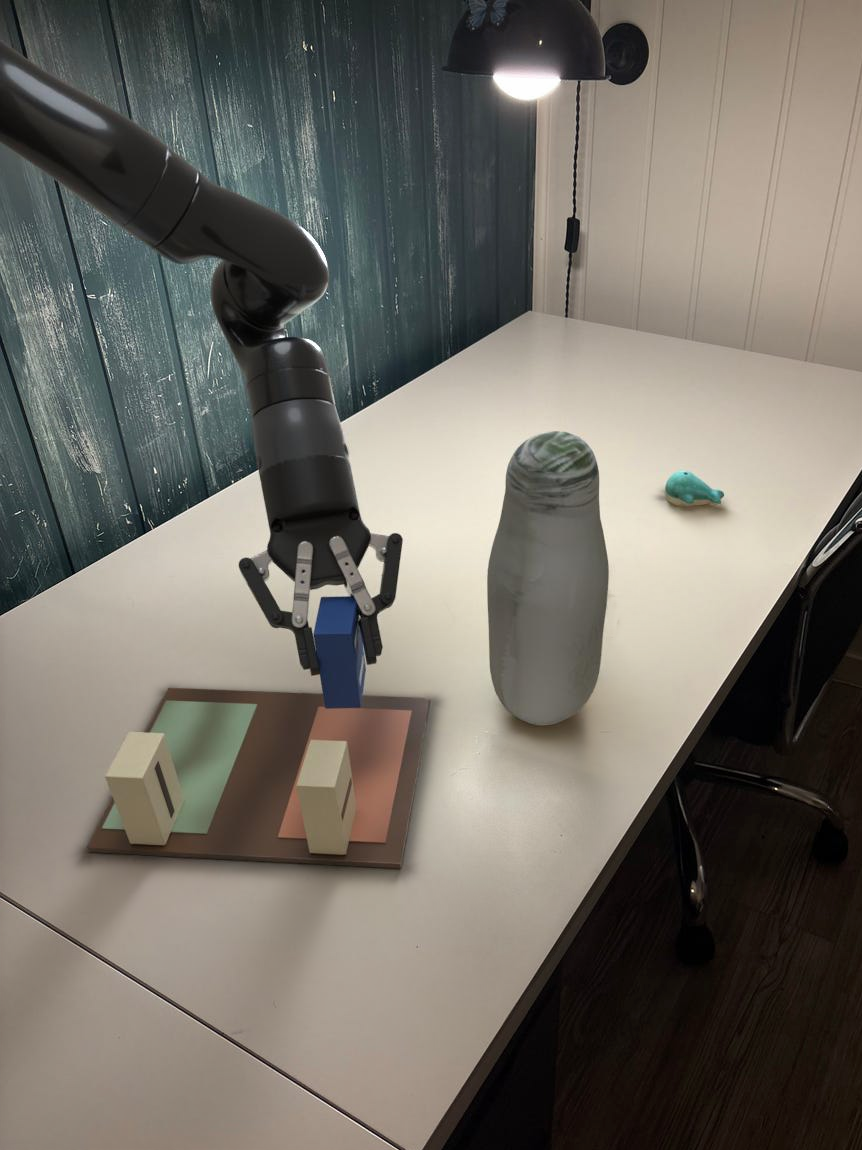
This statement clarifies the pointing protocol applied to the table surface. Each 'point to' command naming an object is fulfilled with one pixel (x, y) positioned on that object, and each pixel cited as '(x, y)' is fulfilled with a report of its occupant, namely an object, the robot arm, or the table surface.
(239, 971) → the table surface
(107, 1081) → the table surface
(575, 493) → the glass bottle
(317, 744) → the tile
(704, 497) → the whale figurine
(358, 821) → the brown flat rectangular board
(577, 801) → the table surface
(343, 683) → the blue rectangular block
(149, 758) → the tile
